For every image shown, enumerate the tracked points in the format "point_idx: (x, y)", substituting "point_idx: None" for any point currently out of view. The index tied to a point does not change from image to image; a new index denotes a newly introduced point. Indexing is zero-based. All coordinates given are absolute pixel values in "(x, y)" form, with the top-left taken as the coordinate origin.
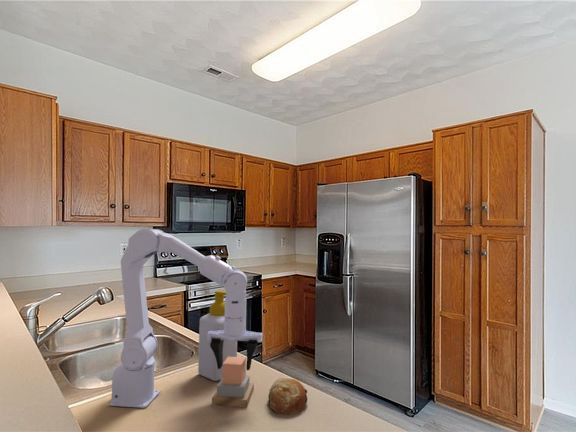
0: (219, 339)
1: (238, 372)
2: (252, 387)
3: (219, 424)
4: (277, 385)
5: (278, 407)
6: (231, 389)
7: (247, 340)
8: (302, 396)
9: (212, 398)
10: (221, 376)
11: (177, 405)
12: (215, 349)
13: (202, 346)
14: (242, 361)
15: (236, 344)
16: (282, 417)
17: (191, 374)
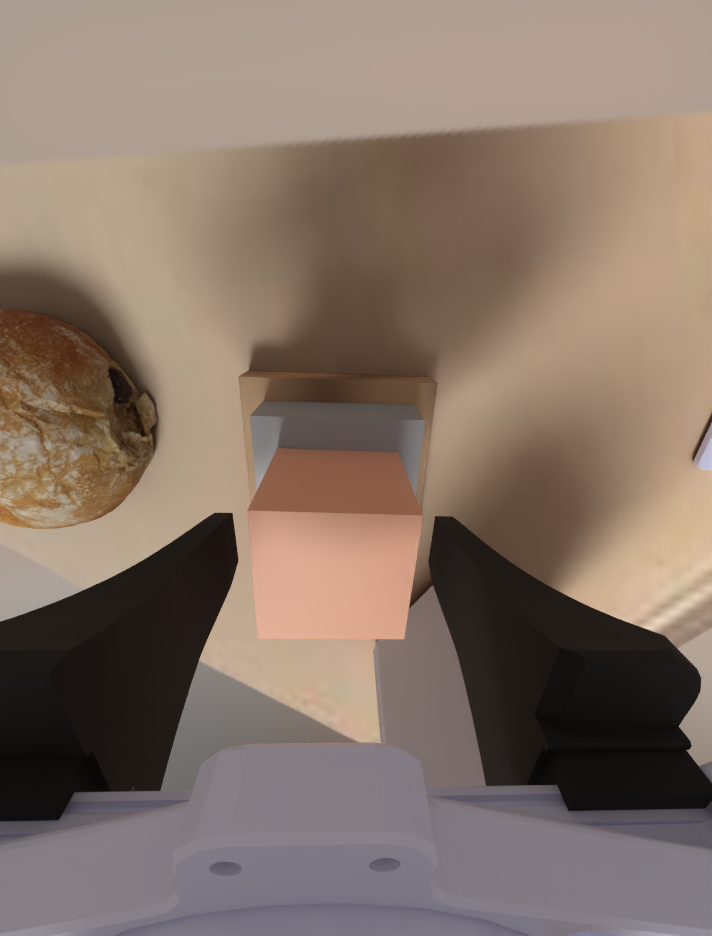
0: (577, 788)
1: (285, 480)
2: None
3: (347, 175)
4: (7, 416)
5: (38, 316)
6: (332, 412)
7: (97, 802)
8: None
9: (433, 383)
10: (428, 596)
11: (597, 360)
12: (561, 614)
13: None
14: (261, 571)
15: None
16: (29, 279)
17: None
